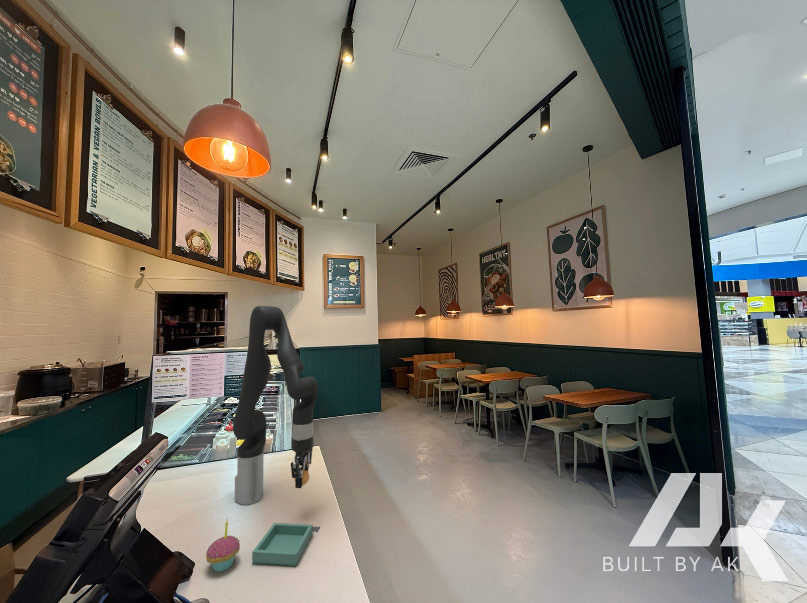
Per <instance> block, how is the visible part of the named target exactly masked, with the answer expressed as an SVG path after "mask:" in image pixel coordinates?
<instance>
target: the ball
mask: <svg viewBox="0 0 807 603" xmlns="http://www.w3.org/2000/svg"><path fill="white" fill-rule="evenodd" d="M309 479H310V473H309V470H308V471H306V470H303V474H302V486H304V485H306V484H307V483H308V482H309Z"/></svg>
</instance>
